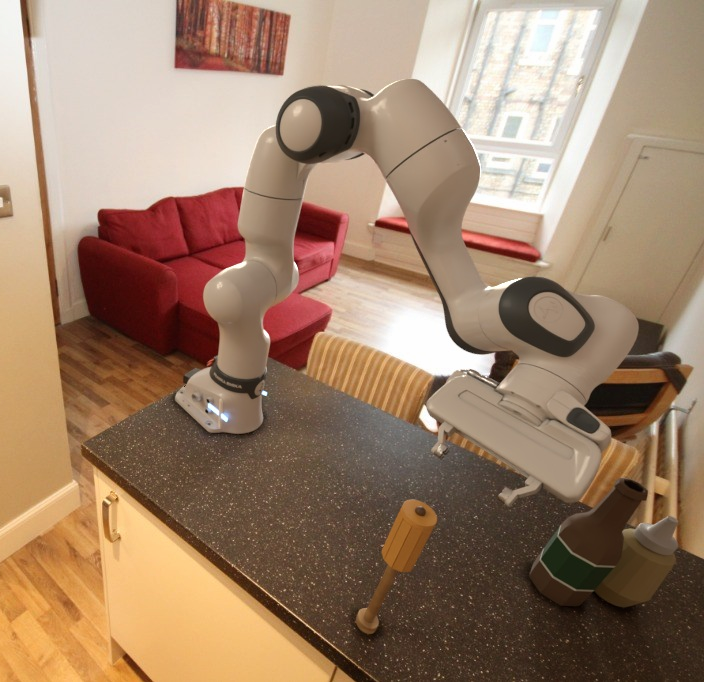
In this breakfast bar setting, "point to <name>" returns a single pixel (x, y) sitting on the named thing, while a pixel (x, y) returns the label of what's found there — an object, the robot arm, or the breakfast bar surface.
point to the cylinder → (408, 535)
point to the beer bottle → (586, 546)
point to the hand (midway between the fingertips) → (467, 477)
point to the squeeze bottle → (641, 564)
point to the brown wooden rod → (375, 603)
